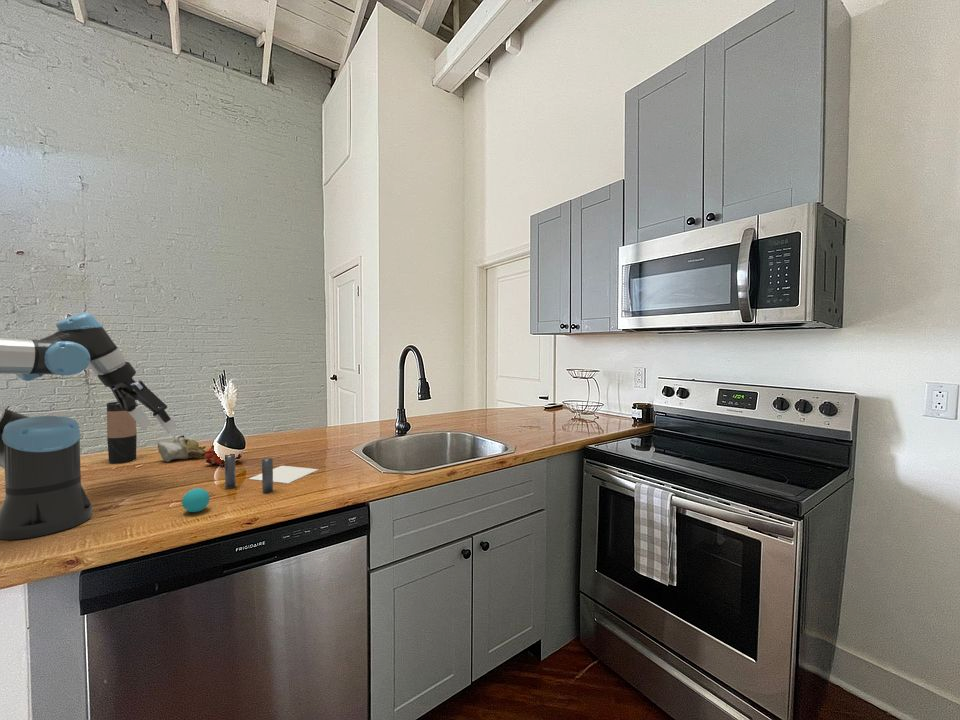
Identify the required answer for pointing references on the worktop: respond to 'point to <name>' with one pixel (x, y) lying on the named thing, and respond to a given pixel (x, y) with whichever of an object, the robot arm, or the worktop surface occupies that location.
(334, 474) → the worktop surface
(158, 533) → the worktop surface
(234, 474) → the gate post left
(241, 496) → the worktop surface
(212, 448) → the dragon fruit
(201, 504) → the ball
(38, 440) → the robot arm
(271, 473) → the gate post right
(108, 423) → the travel mug
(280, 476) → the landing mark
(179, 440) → the grey rock
